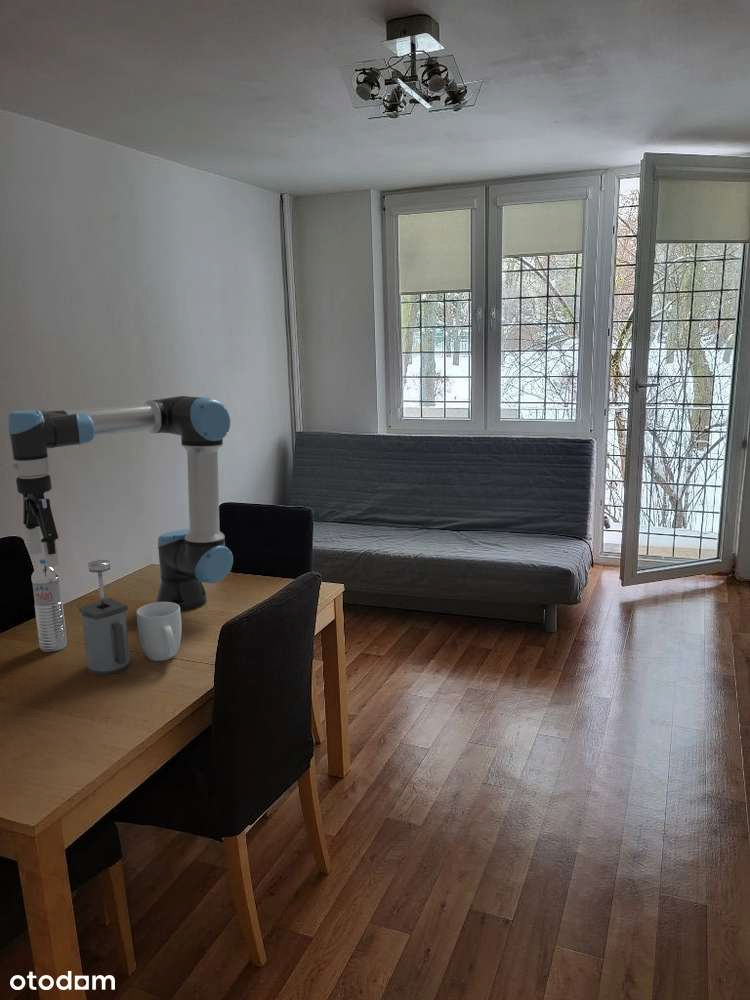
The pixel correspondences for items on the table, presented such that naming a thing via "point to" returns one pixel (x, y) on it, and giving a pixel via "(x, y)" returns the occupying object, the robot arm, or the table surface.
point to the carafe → (105, 637)
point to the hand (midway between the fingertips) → (44, 559)
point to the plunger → (100, 575)
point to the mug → (159, 629)
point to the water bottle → (49, 608)
